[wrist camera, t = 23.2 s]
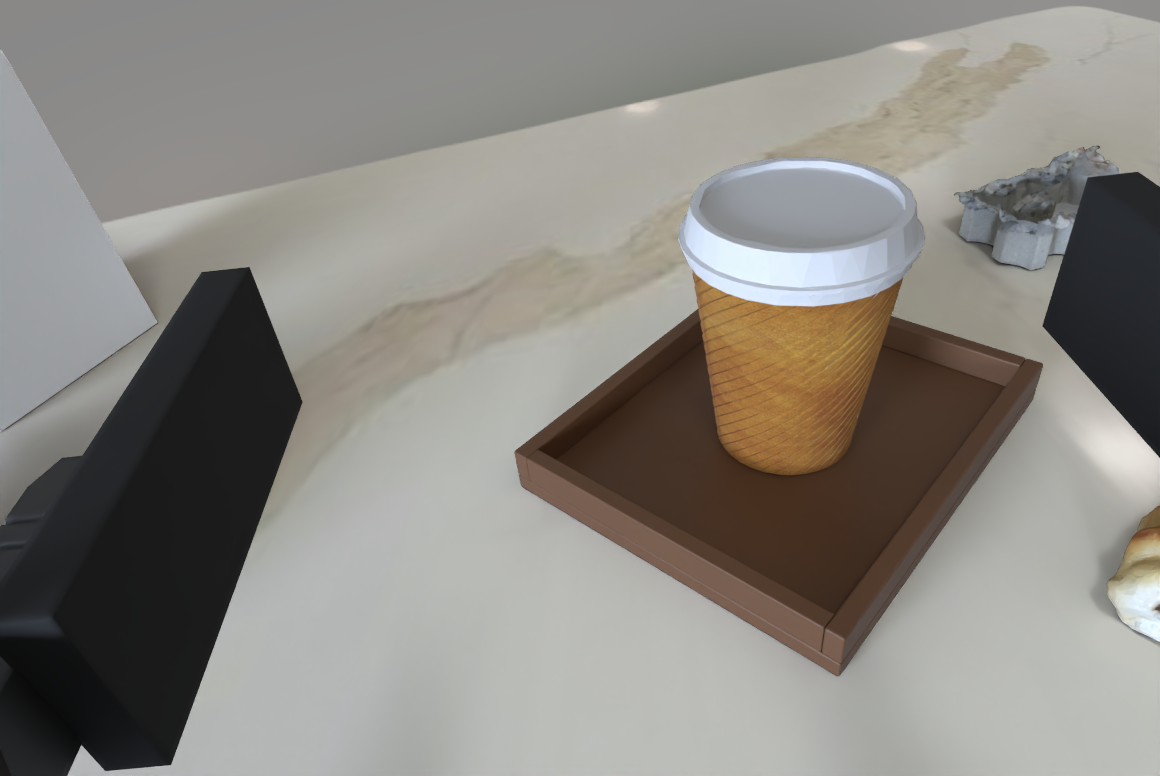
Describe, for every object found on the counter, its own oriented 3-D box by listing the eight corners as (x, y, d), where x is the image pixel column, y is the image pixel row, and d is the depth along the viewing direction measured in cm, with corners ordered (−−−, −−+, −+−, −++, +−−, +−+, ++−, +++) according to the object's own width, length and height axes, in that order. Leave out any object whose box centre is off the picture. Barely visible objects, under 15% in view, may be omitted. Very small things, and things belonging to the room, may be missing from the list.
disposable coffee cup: (884, 378, 42) (920, 152, 34) (892, 514, 34) (940, 265, 27) (697, 365, 44) (695, 151, 37) (668, 489, 37) (658, 255, 30)
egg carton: (1085, 199, 56) (1102, 141, 54) (1167, 248, 50) (1191, 185, 48) (939, 225, 55) (951, 167, 53) (1006, 278, 49) (1022, 215, 47)
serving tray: (520, 486, 39) (513, 451, 38) (745, 303, 50) (747, 270, 48) (838, 678, 30) (845, 640, 28) (1032, 400, 40) (1044, 363, 39)
